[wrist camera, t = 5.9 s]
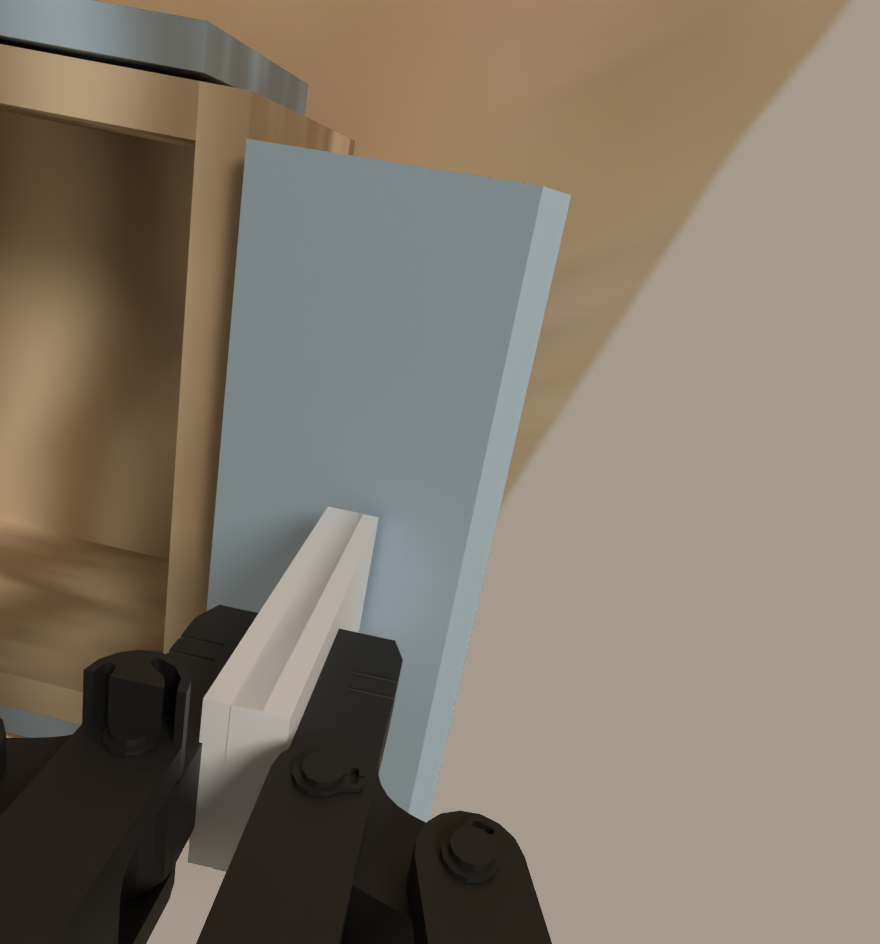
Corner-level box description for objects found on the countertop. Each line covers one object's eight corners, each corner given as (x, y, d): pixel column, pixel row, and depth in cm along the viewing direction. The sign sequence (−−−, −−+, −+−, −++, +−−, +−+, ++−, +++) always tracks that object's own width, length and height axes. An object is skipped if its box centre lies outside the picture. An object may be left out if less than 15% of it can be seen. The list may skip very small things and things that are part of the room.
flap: (194, 747, 21) (391, 894, 17) (246, 138, 15) (543, 186, 12) (228, 727, 22) (419, 862, 18) (286, 148, 16) (571, 195, 13)
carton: (-62, 548, 32) (-283, 662, 23) (-91, 18, 25) (-420, -94, 16) (290, 631, 30) (192, 785, 22) (359, 101, 24) (257, 28, 15)
